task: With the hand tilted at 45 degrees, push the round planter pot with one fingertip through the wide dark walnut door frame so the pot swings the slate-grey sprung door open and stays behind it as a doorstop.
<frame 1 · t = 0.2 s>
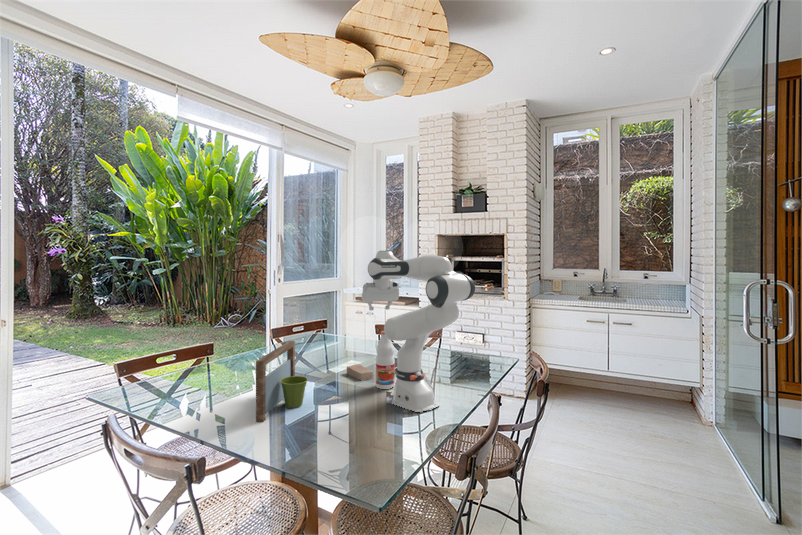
hand: (379, 309, 193), 39 cm above the table, tool pointing down, fingers open, 8 cm apart
fruit juice: (385, 387, 193), on the table
brick: (360, 376, 211), on the table
plant pot: (294, 405, 168), on the table
door: (275, 385, 169), point 8 cm above the table, hinge at 0.0°
door frame: (277, 404, 169), on the table
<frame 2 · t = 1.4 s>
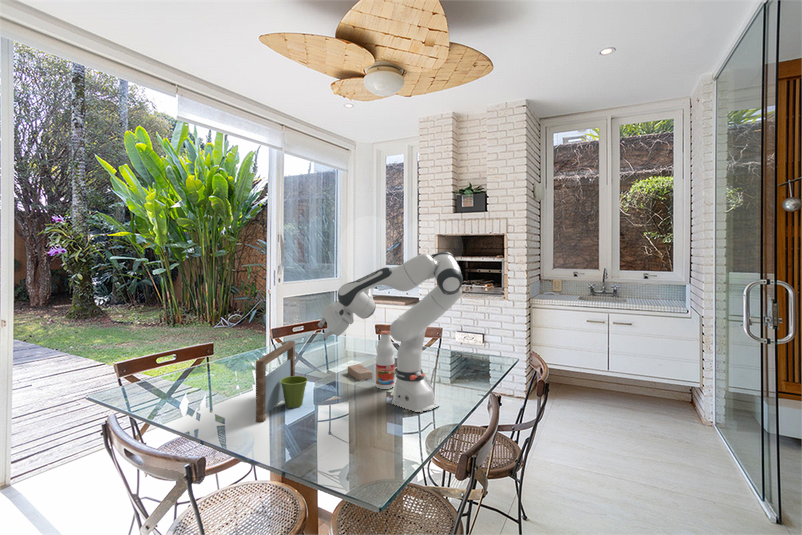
hand: (321, 331, 173), 31 cm above the table, tool tilted 45°, fingers open, 8 cm apart
nothing on the table moved.
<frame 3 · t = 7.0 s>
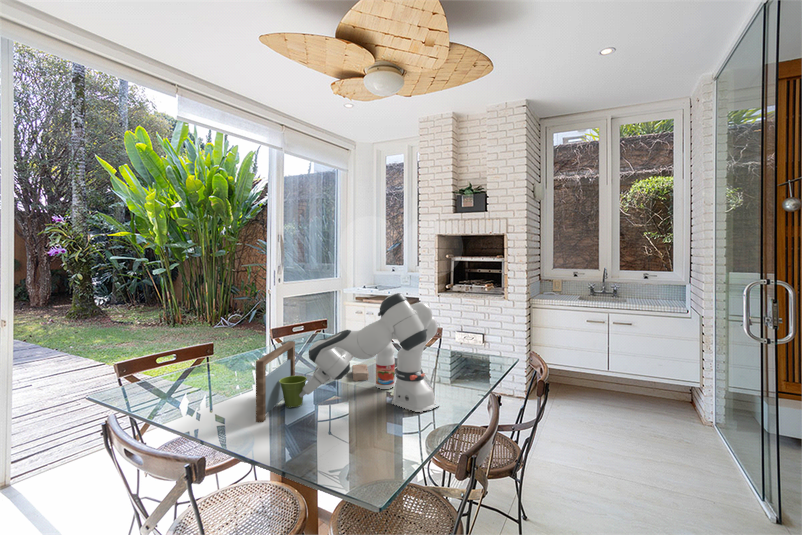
hand: (303, 392, 170), 5 cm above the table, tool tilted 45°, fingers open, 8 cm apart
plant pot: (294, 405, 168), on the table, touching gripper
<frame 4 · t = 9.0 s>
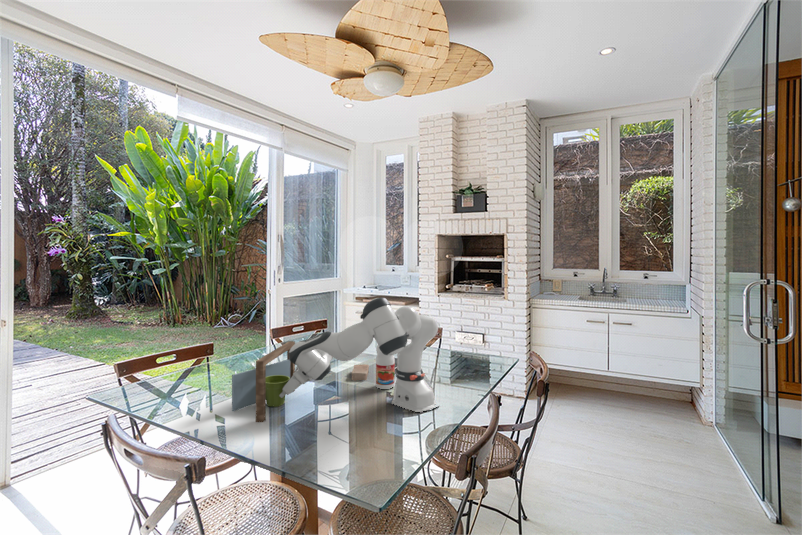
hand: (284, 392, 171), 5 cm above the table, tool tilted 45°, fingers open, 8 cm apart
plant pot: (275, 404, 169), on the table, touching door, gripper
door: (262, 382, 171), point 8 cm above the table, hinge at 28.7°, touching plant pot
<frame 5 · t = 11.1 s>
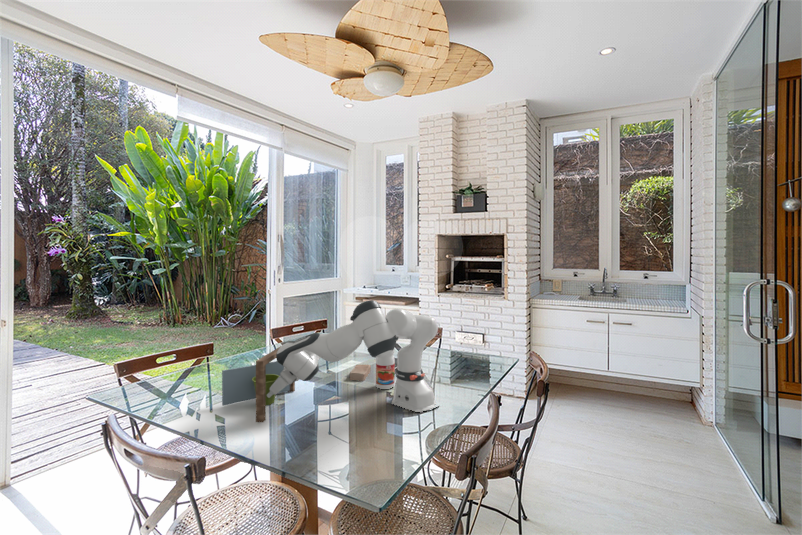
hand: (272, 392, 171), 4 cm above the table, tool tilted 45°, fingers open, 8 cm apart
plant pot: (266, 403, 170), on the table, touching door, gripper
door: (257, 380, 175), point 9 cm above the table, hinge at 46.9°, touching plant pot
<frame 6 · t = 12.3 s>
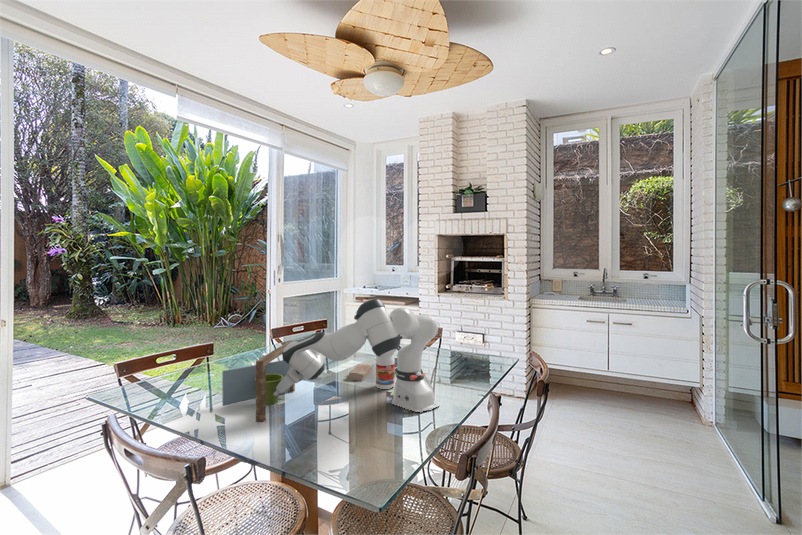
hand: (279, 390, 172), 5 cm above the table, tool tilted 45°, fingers open, 8 cm apart
plant pot: (269, 403, 171), on the table, touching door
door: (257, 380, 175), point 8 cm above the table, hinge at 45.9°, touching plant pot
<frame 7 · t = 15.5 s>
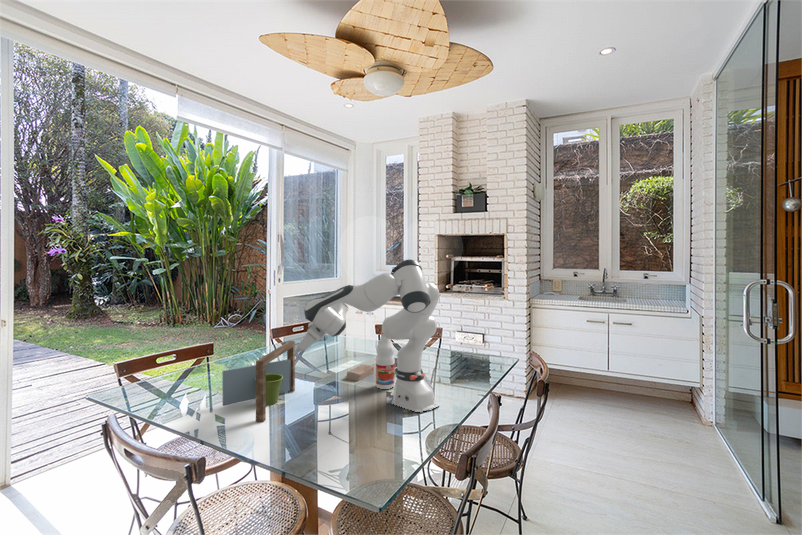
hand: (296, 350, 171), 23 cm above the table, tool tilted 45°, fingers open, 8 cm apart
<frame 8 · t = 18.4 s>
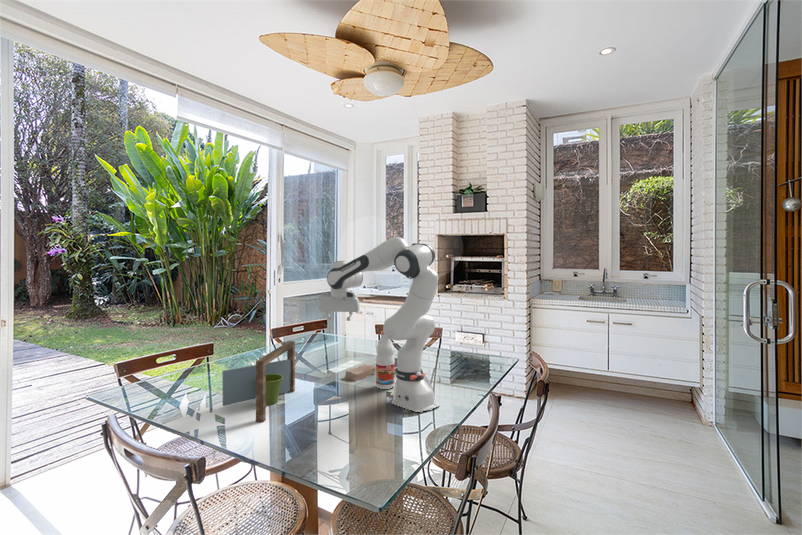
hand: (339, 320, 194), 33 cm above the table, tool pointing down, fingers open, 8 cm apart
at the end: plant pot inside the target area on the table beside the door frame (5.4 cm from its centre), on the table; door at +46° (first picture: +0°); plant pot tilted 0° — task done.
